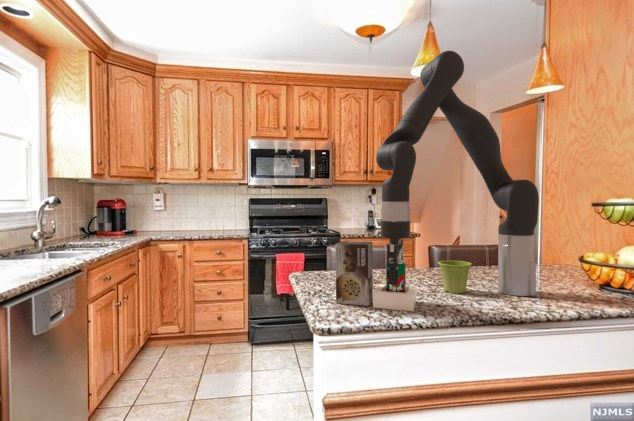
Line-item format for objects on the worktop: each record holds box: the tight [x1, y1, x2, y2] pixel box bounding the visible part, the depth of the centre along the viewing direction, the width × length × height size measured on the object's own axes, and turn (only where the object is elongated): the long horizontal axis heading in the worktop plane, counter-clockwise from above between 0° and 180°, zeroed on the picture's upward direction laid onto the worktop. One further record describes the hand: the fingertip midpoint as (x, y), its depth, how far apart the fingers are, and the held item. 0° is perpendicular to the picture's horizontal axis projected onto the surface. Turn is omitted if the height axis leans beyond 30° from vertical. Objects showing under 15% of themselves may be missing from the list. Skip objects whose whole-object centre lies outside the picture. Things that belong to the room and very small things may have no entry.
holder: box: [372, 283, 418, 312], centre depth 95 cm, size 10×10×4 cm
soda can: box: [385, 257, 407, 293], centre depth 95 cm, size 5×5×12 cm
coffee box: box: [334, 240, 374, 307], centre depth 97 cm, size 9×6×16 cm
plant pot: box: [437, 260, 472, 295], centre depth 109 cm, size 9×9×9 cm
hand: (395, 281), depth 95 cm, fingers open, 8 cm apart
